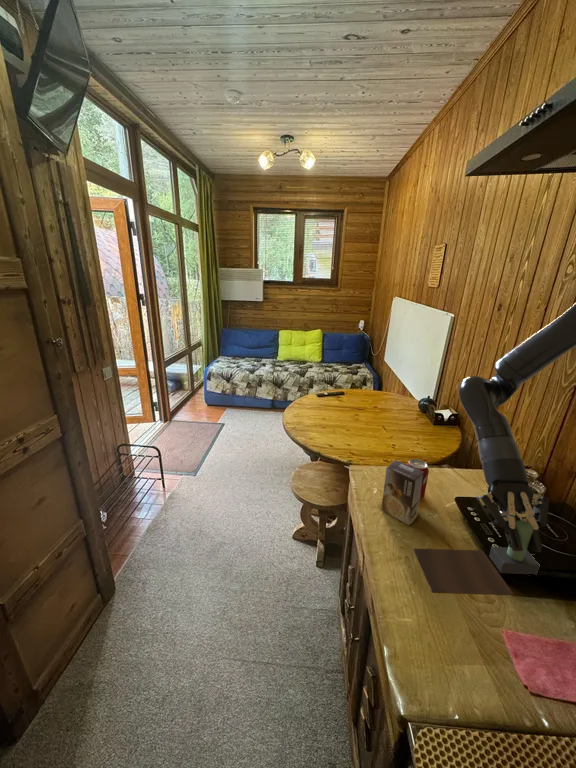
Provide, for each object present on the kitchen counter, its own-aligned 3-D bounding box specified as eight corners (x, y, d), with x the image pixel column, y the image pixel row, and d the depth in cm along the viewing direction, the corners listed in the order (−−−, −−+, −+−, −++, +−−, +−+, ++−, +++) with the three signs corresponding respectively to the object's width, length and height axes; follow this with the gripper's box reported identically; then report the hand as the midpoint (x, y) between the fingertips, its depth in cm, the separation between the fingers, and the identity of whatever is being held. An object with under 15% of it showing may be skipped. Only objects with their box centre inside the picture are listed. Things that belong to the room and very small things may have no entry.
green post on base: (488, 556, 64) (499, 517, 61) (523, 557, 64) (535, 518, 61) (500, 573, 61) (512, 532, 58) (537, 574, 60) (550, 534, 57)
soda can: (417, 504, 97) (423, 472, 94) (398, 493, 102) (402, 462, 99) (427, 496, 101) (433, 464, 98) (409, 486, 106) (413, 455, 103)
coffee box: (418, 518, 92) (426, 472, 87) (408, 529, 87) (416, 481, 82) (389, 503, 98) (395, 459, 93) (379, 513, 93) (385, 467, 89)
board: (481, 554, 79) (482, 550, 79) (513, 599, 68) (514, 594, 67) (411, 552, 80) (412, 548, 79) (431, 597, 68) (432, 592, 68)
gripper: (477, 455, 63) (501, 550, 55) (546, 457, 63) (580, 553, 55) (459, 464, 70) (479, 549, 62) (522, 465, 70) (549, 552, 62)
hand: (526, 551), depth 59 cm, fingers closed on green post on base, 3 cm apart
